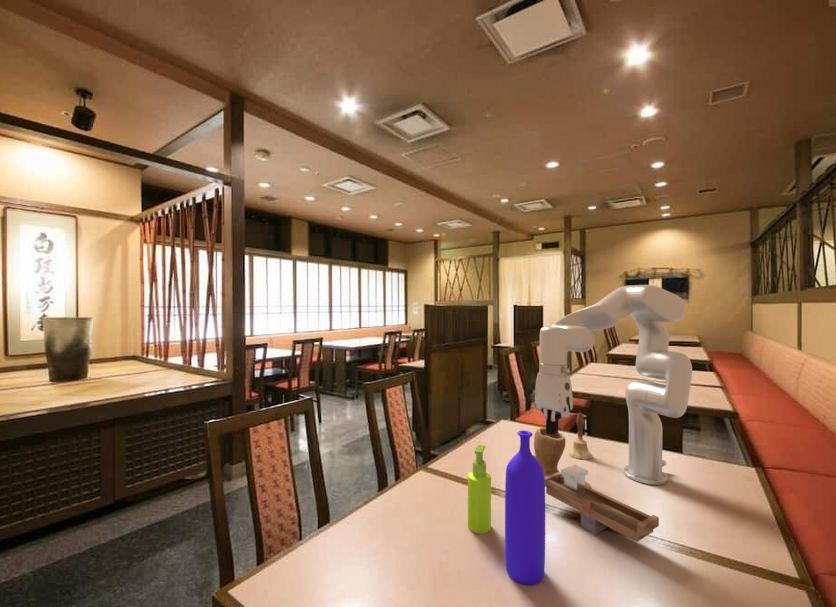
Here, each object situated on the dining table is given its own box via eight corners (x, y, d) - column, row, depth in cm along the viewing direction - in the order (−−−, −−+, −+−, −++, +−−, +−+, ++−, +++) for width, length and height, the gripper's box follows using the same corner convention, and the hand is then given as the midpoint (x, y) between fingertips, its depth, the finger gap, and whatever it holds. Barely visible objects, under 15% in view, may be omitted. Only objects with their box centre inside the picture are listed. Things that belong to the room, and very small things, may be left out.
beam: (559, 498, 110) (559, 471, 110) (659, 551, 87) (659, 517, 87) (542, 505, 106) (542, 477, 106) (642, 563, 83) (642, 527, 83)
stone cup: (572, 483, 119) (572, 436, 119) (536, 485, 118) (536, 438, 118) (550, 463, 135) (550, 421, 134) (518, 464, 133) (518, 422, 133)
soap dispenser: (492, 520, 99) (492, 444, 99) (489, 535, 93) (489, 454, 93) (471, 515, 101) (471, 442, 101) (465, 530, 95) (465, 451, 95)
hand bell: (564, 451, 145) (564, 410, 145) (584, 450, 146) (584, 409, 146) (575, 460, 137) (575, 416, 137) (597, 459, 138) (597, 416, 138)
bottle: (499, 560, 84) (500, 426, 84) (535, 557, 85) (536, 425, 85) (512, 588, 76) (512, 440, 76) (551, 585, 76) (552, 438, 76)
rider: (574, 486, 105) (574, 464, 105) (587, 492, 102) (587, 470, 102) (561, 492, 102) (561, 469, 102) (573, 499, 98) (573, 475, 98)
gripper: (584, 372, 103) (583, 439, 103) (540, 364, 116) (540, 424, 116) (567, 375, 99) (566, 444, 99) (523, 366, 112) (522, 428, 112)
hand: (552, 433), depth 107 cm, fingers closed
